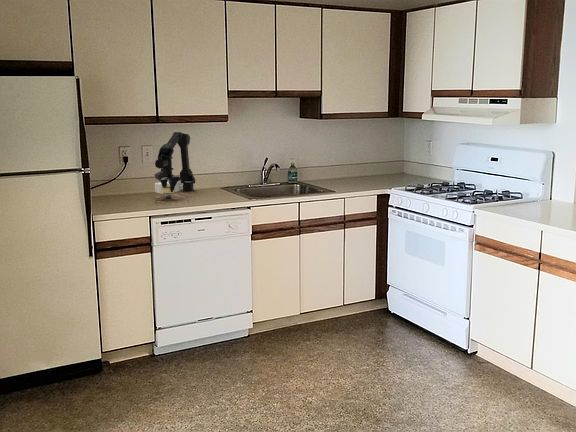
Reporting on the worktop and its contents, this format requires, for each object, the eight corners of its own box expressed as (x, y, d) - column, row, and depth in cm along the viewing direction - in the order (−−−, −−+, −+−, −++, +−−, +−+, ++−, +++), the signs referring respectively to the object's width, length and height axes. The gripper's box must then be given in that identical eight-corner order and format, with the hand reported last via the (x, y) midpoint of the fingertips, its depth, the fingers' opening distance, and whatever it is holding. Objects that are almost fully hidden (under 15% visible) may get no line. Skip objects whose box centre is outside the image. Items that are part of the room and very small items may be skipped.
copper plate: (180, 194, 385) (180, 192, 385) (195, 197, 374) (195, 195, 374) (154, 198, 371) (154, 196, 371) (169, 201, 360) (169, 200, 360)
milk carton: (154, 183, 386) (178, 180, 399) (155, 193, 387) (178, 190, 400) (160, 184, 381) (184, 181, 394) (160, 195, 382) (184, 191, 395)
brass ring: (169, 190, 369) (169, 185, 369) (176, 192, 365) (176, 187, 364) (159, 192, 364) (159, 187, 364) (166, 193, 359) (166, 188, 359)
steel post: (169, 197, 368) (168, 189, 367) (172, 198, 365) (172, 190, 364) (164, 198, 365) (164, 190, 364) (167, 199, 363) (167, 191, 362)
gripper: (147, 166, 362) (148, 191, 365) (165, 169, 349) (166, 194, 352) (162, 164, 369) (163, 188, 373) (180, 167, 357) (181, 192, 360)
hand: (168, 191), depth 364 cm, fingers closed on brass ring, 7 cm apart
